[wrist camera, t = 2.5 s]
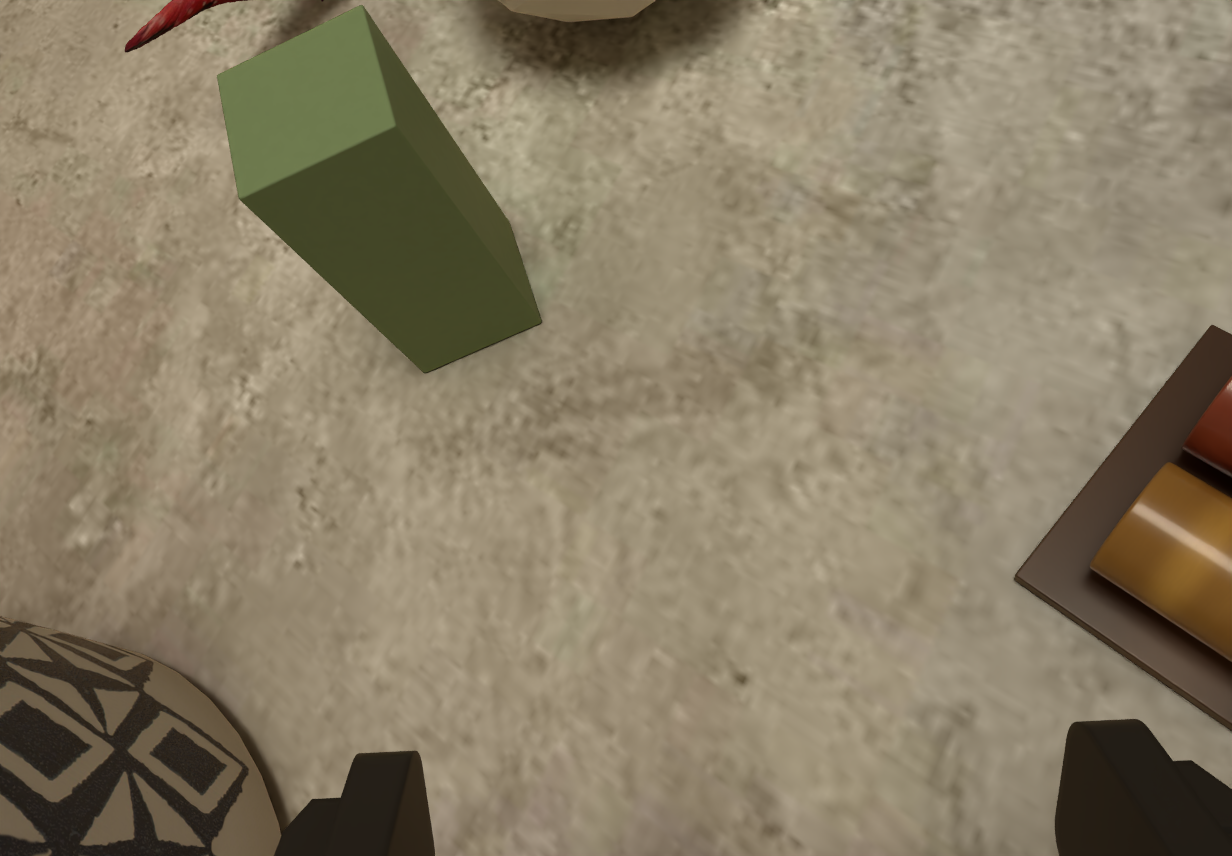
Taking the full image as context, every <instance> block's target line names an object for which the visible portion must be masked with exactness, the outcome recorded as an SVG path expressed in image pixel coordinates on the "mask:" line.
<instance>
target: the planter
mask: <svg viewBox="0 0 1232 856" xmlns="http://www.w3.org/2000/svg"><path fill="white" fill-rule="evenodd" d="M280 838H281V832H280V827H279V823H278V820H277V817H276V814H275V812H274V809H273V806H272V803H271V800H270V798H269V795H268V792H267V789H266V787H265V784H264V781H263V778H262V775H261V773H260V772H259V770H258V768H257V766H256V764H255V763H254V761H253V759H252V757H251V755H250V754H249V752H248V750H247V748H246V746H245V745H244V743H243V741H242V739H241V737H240V736H239V734H238V733H237V731H236V730H235V729H234V728H233V727H232V725H231V724H230V723H229V722H228V720H227V719H226V718H225V717H224V716H223V714H222V713H221V712H220V711H219V709H218V708H217V707H216V706H215V705H214V703H213V702H212V701H211V700H210V699H209V698H208V697H207V696H206V695H205V694H203V693H202V692H201V691H200V690H198V689H197V688H196V687H195V686H194V685H192V684H191V683H190V682H189V681H188V680H186V679H185V678H184V677H183V676H181V675H180V674H179V673H178V672H176V671H174V670H172V669H170V668H168V667H166V666H164V665H163V664H161V663H159V662H157V661H155V660H153V659H151V658H149V657H147V656H145V655H143V654H140V653H136V652H133V651H129V650H126V649H122V648H119V647H115V646H111V645H108V644H104V643H101V642H97V641H93V640H89V639H86V638H82V637H78V636H75V635H71V634H67V633H64V632H60V631H56V630H52V629H48V628H44V627H41V626H37V625H33V624H29V623H25V622H21V621H17V620H13V619H9V618H5V617H2V616H0V856H274V854H275V851H276V849H277V846H278V843H279V841H280Z"/></svg>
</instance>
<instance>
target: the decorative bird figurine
mask: <svg viewBox="0 0 1232 856" xmlns="http://www.w3.org/2000/svg"><path fill="white" fill-rule="evenodd" d="M236 1H247V0H172V1H171V2H170V3H168V4H167V5H166V6H165V7H164V8H163V9H162V10H161V11H160V12H159V13H158V14H156V15H155V16H154V17H153V18H152V19H151V20H150V21H149V22H148V23H147V24H146V25H145V26H143V27H142V28H141V29H140V30H139V31H138V32H137V34H136V35H135V36H134V37H133V38H132V39H131V40H129V41H128V43H127V44H126V46H125V52H130V51H132V50H135V49H137V48H140V47H142V46H144V45H145V44H147V43H149V42H150V41H152V40H154V39H156V38H158V37H159V36H161V35H163V34H165V33H166V32H168V31H170V30H171V29H173V28H174V27H177V26H178V25H180V24H182V23H184V22H185V21H186V20H188V19H190V18H192V17H193V16H195V15H197V14H198V13H200V12H201V11H204V10H205V9H208V8H211V7H214V6H216V5H219V4H223V3H227V2H236ZM322 1H323V0H322Z"/></svg>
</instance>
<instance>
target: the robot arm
mask: <svg viewBox="0 0 1232 856" xmlns="http://www.w3.org/2000/svg"><path fill="white" fill-rule="evenodd" d="M1055 836H1056V843H1057V848H1058V852H1059V856H1232V789H1231V788H1229V787H1228V786H1226V785H1225V784H1224V783H1222V782H1221V781H1219V780H1218V779H1217V778H1215V777H1214V776H1212V775H1211V774H1210V773H1208V772H1207V771H1205V770H1204V769H1203V768H1201V767H1200V766H1198V765H1197V764H1196V763H1194V762H1193V761H1191V760H1189V761H1173V760H1172V759H1171V758H1170V756H1169V755H1168V754H1167V752H1166V751H1165V750H1164V748H1163V747H1162V746H1161V744H1160V743H1159V742H1158V740H1157V739H1156V738H1155V736H1154V735H1153V734H1152V732H1151V731H1150V730H1149V728H1148V727H1147V726H1146V725H1145V724H1144V723H1143V722H1142V721H1140V720H1138V719H1125V720H1104V721H1083V722H1074V723H1073V724H1072V725H1071V726H1070V728H1069V730H1068V734H1067V739H1066V746H1065V753H1064V759H1063V766H1062V773H1061V780H1060V787H1059V794H1058V801H1057V808H1056V815H1055ZM274 856H435V849H434V840H433V834H432V827H431V820H430V814H429V807H428V800H427V794H426V787H425V780H424V774H423V767H422V761H421V757H420V755H419V753H418V751H400V752H379V753H359V754H357V755H356V756H355V758H354V760H353V762H352V765H351V768H350V771H349V774H348V777H347V780H346V783H345V786H344V790H343V793H342V796H341V798H326V799H312V800H311V801H310V802H309V803H308V804H307V806H306V807H305V808H304V809H303V810H302V811H301V812H300V813H299V814H298V816H297V817H296V818H295V819H294V820H293V821H292V822H291V823H290V824H289V826H288V827H287V828H286V829H285V830H284V831H283V833H282V836H281V838H280V841H279V843H278V846H277V849H276V851H275V854H274Z"/></svg>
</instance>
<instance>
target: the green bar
mask: <svg viewBox="0 0 1232 856" xmlns="http://www.w3.org/2000/svg"><path fill="white" fill-rule="evenodd" d="M217 79H218V85H219V90H220V96H221V102H222V107H223V113H224V118H225V124H226V130H227V135H228V141H229V147H230V152H231V158H232V163H233V169H234V175H235V180H236V186H237V191H238V197H239V199H240V200H241V201H242V202H243V203H244V204H245V205H246V206H247V207H248V208H249V209H250V210H251V211H252V212H253V213H254V214H256V215H257V216H258V217H259V218H260V219H261V220H262V221H263V222H264V223H265V224H266V225H267V226H268V227H269V228H270V229H271V230H273V231H274V232H275V233H276V234H277V235H278V236H279V237H280V238H281V239H282V240H283V241H284V242H285V243H286V244H287V245H288V246H290V247H291V248H292V249H293V250H294V251H295V252H296V253H297V254H298V255H299V256H300V257H301V258H302V259H303V260H304V261H306V262H307V263H308V264H309V265H310V266H311V267H312V268H313V269H314V270H315V271H316V272H317V273H318V274H319V275H320V276H321V277H323V278H324V279H325V280H326V281H327V282H328V283H329V284H330V285H331V286H332V287H333V288H334V289H335V290H336V291H337V292H338V293H340V294H341V295H342V296H343V297H344V298H345V299H346V300H347V301H348V302H349V303H350V304H351V305H352V306H353V307H354V308H356V309H357V310H358V311H359V312H360V313H361V314H362V315H363V316H364V317H365V318H366V319H367V320H368V321H369V322H370V323H371V324H373V325H374V326H375V327H376V328H377V329H378V330H379V331H380V332H381V333H382V334H383V335H384V336H385V337H386V338H387V339H388V340H390V341H391V342H392V343H393V344H394V345H395V346H396V347H397V348H398V349H399V350H400V351H401V352H402V353H403V354H404V355H406V356H407V357H408V358H409V359H410V360H411V361H412V362H413V363H414V364H415V365H416V366H417V367H418V368H419V369H420V370H421V371H423V372H424V373H426V372H429V371H431V370H433V369H436V368H438V367H440V366H443V365H445V364H447V363H450V362H452V361H454V360H456V359H459V358H461V357H463V356H466V355H468V354H470V353H473V352H475V351H477V350H480V349H482V348H484V347H486V346H489V345H491V344H493V343H496V342H498V341H500V340H503V339H505V338H507V337H510V336H512V335H514V334H516V333H519V332H521V331H523V330H526V329H528V328H530V327H533V326H535V325H537V324H540V323H541V318H540V315H539V312H538V309H537V306H536V302H535V299H534V296H533V293H532V290H531V287H530V284H529V281H528V278H527V275H526V272H525V269H524V266H523V262H522V259H521V256H520V253H519V250H518V247H517V244H516V241H515V238H514V235H513V232H512V229H511V226H510V222H509V221H508V219H507V218H506V217H505V215H504V214H503V212H502V211H501V209H500V208H499V206H498V205H497V203H496V202H495V200H494V199H493V197H492V196H491V194H490V193H489V191H488V190H487V188H486V187H485V185H484V184H483V182H482V181H481V179H480V178H479V176H478V175H477V174H476V172H475V171H474V169H473V168H472V166H471V165H470V163H469V162H468V160H467V159H466V157H465V156H464V154H463V153H462V151H461V150H460V148H459V147H458V145H457V144H456V142H455V141H454V139H453V138H452V136H451V135H450V134H449V132H448V131H447V129H446V128H445V126H444V125H443V123H442V122H441V120H440V119H439V117H438V116H437V114H436V113H435V111H434V110H433V108H432V107H431V105H430V104H429V102H428V101H427V99H426V98H425V96H424V95H423V94H422V92H421V91H420V89H419V88H418V86H417V85H416V83H415V82H414V80H413V79H412V77H411V76H410V74H409V73H408V71H407V70H406V68H405V67H404V65H403V64H402V62H401V61H400V59H399V58H398V56H397V55H396V54H395V52H394V51H393V49H392V48H391V46H390V45H389V43H388V42H387V40H386V39H385V37H384V36H383V34H382V33H381V31H380V30H379V28H378V27H377V25H376V24H375V22H374V21H373V19H372V18H371V16H370V15H369V14H368V12H367V11H366V9H365V8H364V6H363V5H360V6H358V7H356V8H354V9H352V10H350V11H348V12H345V13H343V14H341V15H339V16H337V17H335V18H333V19H331V20H329V21H327V22H325V23H323V24H321V25H319V26H317V27H315V28H313V29H311V30H309V31H306V32H304V33H302V34H300V35H298V36H296V37H294V38H292V39H290V40H288V41H286V42H284V43H282V44H280V45H278V46H276V47H274V48H272V49H270V50H268V51H265V52H263V53H261V54H259V55H257V56H255V57H253V58H251V59H249V60H247V61H245V62H243V63H241V64H239V65H237V66H235V67H233V68H231V69H229V70H226V71H224V72H222V73H220V74H218V75H217Z"/></svg>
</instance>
